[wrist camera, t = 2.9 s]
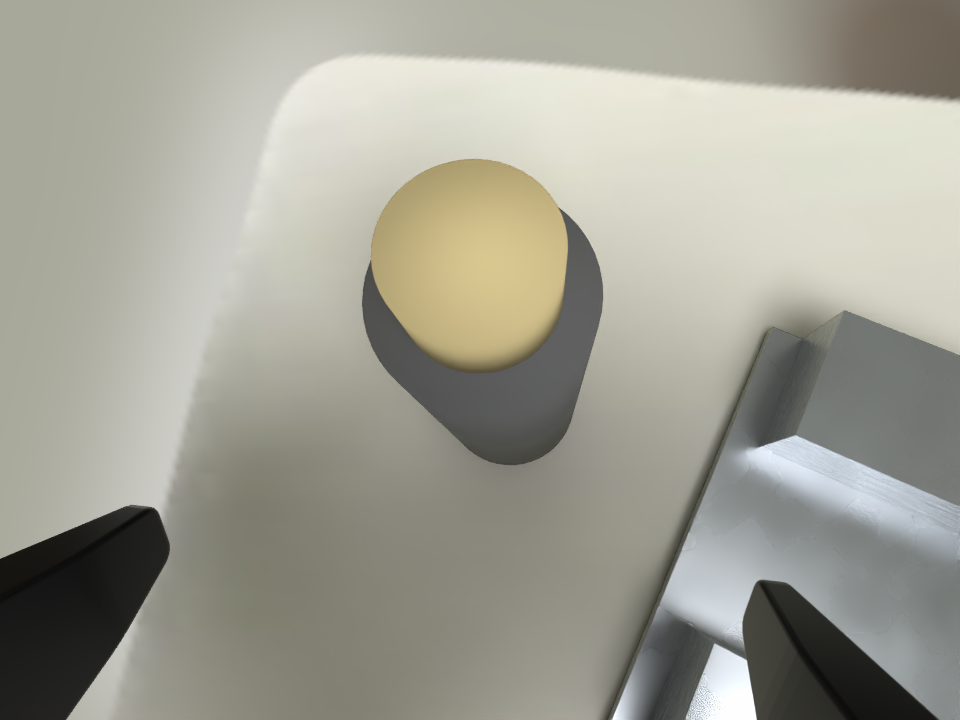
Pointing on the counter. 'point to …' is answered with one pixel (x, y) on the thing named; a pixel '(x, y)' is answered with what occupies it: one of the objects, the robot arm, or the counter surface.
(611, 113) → the counter surface
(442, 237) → the grey and tan cylinder
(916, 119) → the counter surface
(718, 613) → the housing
